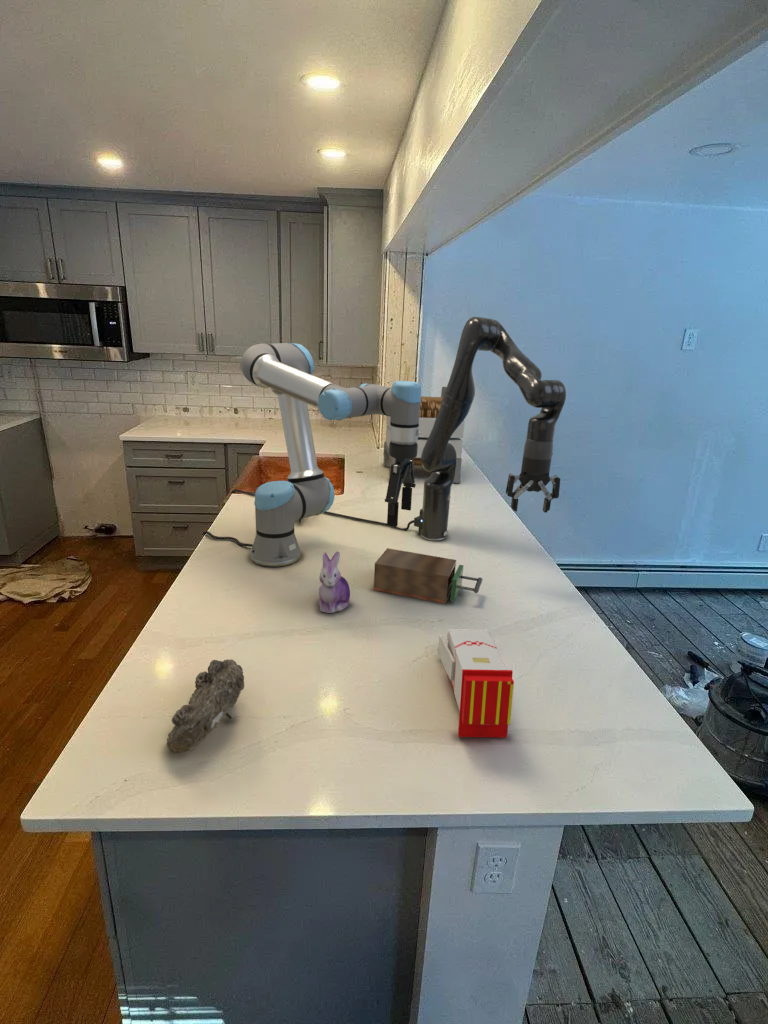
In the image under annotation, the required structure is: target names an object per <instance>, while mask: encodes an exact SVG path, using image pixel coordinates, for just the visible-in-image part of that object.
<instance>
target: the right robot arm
mask: <svg viewBox="0 0 768 1024" xmlns="http://www.w3.org/2000/svg"><path fill="white" fill-rule="evenodd" d="M461 331H462V332H461V333H460V334H461V335H460V339H459V343H458V347H457V351H456V356H455V359H454V365H453V367H452V370H451V373H450V375H449V379H448V383H447V386H446V387H447V388H446V390H445V393H444V396H443V399H442V402H441V406H440V409H439V412H438V415H437V417H436V420H435V423H434V426H433V428H432V431H431V433H430V435H429V437H428V439H427V442H426V444H425V446H424V448H423V451H422V455H421V463H422V466H421V467H423V470H424V471H426V472H428V473H431V474H430V475H429V476H428V477H427V478H426V479H425V480H424V482H423V493H422V496H423V497H422V506H421V508H420V509H419V515H418V516H416V517H414V518H413V519H412V520H410V521H408V523H407V525H406V527H404V528H401V527H398V526H390V525H387V522H382V521H377V520H371V519H367V518H361V517H355V516H350V515H345V514H340V513H336V512H332V511H328V510H327V511H326V512H323V513H322V514H327V515H331V516H336V517H340V518H345V519H350V520H353V521H354V520H355V521H359V522H366V523H371V524H376V525H380V526H386V527H391V528H393V529H395V530H398V531H403V532H404V531H408V530H409V529H410V526H411V524H413V526H414V527H416V528H418V530H417V535H418V536H420V538H421V539H424V540H426V541H432V542H440V541H444V540H446V539H447V538H448V534H449V529H448V525H449V517H450V516H449V514H450V504H451V494H452V493H451V491H452V486H453V484H454V483H453V482H454V477H455V470H456V462H457V455H456V450H455V448H454V447H453V445H452V444H450V443H448V441H449V439H450V437H451V436H452V434H453V433H454V432H455V430H456V429H457V428H458V427H459V425H460V424H461V423H462V422H463V420H465V419H466V418H467V416H468V414H469V413H470V410H471V408H472V404H473V402H474V399H475V396H476V386H475V381H474V376H473V365H474V362H475V358H476V355H477V352H478V351H481V352H491V353H492V354H495V355H496V356H497V357H499V358H500V359H501V362H502V367H503V371H504V372H505V374H506V375H507V377H508V378H509V379H510V380H511V381H512V382H513V383H514V384H515V385H517V387H518V388H519V390H520V393H521V395H522V398H523V399H524V400H525V402H526V403H527V404H528V405H530V407H533V408H535V409H536V408H537V409H540V410H539V413H537V414H536V415H533V416H531V417H530V418H529V419H528V422H527V423H528V424H527V431H526V437H525V443H524V446H523V452H522V460H521V461H522V462H521V469H520V473H519V475H517V474H514V473H509V474H508V478H507V482H506V488H505V494H506V495H507V497H509V498H511V501H510V502H511V503H510V508H511V510H512V511H513V512H515V513H516V512H518V505H519V497H521V496H522V495H523V494H524V493H525V492H526V491H527V492H536V493H539V492H541V493H543V495H544V496H545V497H544V499H543V505H542V512H543V513H548V511H550V510H551V504H552V501H553V499H558V498H559V497H560V489H561V488H560V487H561V478H560V477H559V476H558V475H556V474H555V475H554V476H550V471H551V464H552V458H553V451H554V437H555V429H556V424H557V422H558V421H559V418H560V416H561V413H562V410H563V408H564V406H565V403H566V401H567V400H566V399H567V389H566V386H565V384H564V382H562V381H561V380H558V379H542V370H541V369H540V368H539V367H538V366H537V365H536V363H534V362H533V361H532V360H531V359H530V358H529V357H528V356H527V355H526V354H524V353H523V352H522V350H521V349H520V348H519V347H518V346H517V344H516V342H514V340H513V339H512V338H511V336H510V335H509V333H508V331H507V330H506V329H505V327H504V326H503V325H502V323H500V321H499V320H496V319H493V318H488V317H482V316H472V317H470V318H468V319H467V321H466V322H465V324H464V325H463V328H462V330H461ZM517 481H519V482H520V484H519V485H518V486H516V489H514V485H515V484H516V483H517ZM549 483H551V485H552V489H551V492H549V490H548V488H547V487H546V486H547V484H548V485H549ZM513 490H514V491H513ZM236 492H237V493H240V494H244V495H250V496H254V497H255V493H253V492H248V491H244V490H241V489H233V490H232V491H231V492H230V493H231V494H233V493H236Z"/></svg>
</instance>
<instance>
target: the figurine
mask: <svg viewBox="0 0 768 1024" xmlns="http://www.w3.org/2000/svg"><path fill="white" fill-rule="evenodd" d="M321 557H322V558H321V559H322V568H321V570H320V572H319V581H320V583H321V585H320V586H319V588H318V597H319V601H318V605H319V610H320V612H322V613H326V614H333V613H336V612H340V611H343V610H345V609H346V608H347V607H348V606H349V605H350V599H351V589H350V585H349V582H348V581H347V579H346V578H345V577H344V576H342V575H341V574H342V573H341V572H340V571H341V570H340V569H339V567H338V565H339V562H340V557H341V553H340V551H336V552H335V553H334V554H333V556H332V557H331V558H330V557H329V555H328V553H327V552H323V553H322V556H321Z"/></svg>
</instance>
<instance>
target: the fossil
mask: <svg viewBox="0 0 768 1024" xmlns="http://www.w3.org/2000/svg"><path fill="white" fill-rule="evenodd" d="M243 670H244V669H243V667H242V665H240V664H237V662H236V661H235V660H234V659H232V658H231V659H227V658H226V659H224V660H223V661H222V660H217V659H212V660H211V661H210V663H209V665H208V666H207V671H201V672H199V673H198V674H197V675H196V676H195V680H194V684H195V685H194V687H195V689H194V690H193V693H192V694H191V697H190V698H189V700H188V704H184V705H182V706H181V707H180V709H177V710H176V711H175V713H174V715H173V716H172V718H171V723H172V724H173V727H172V730H171V731H170V732H168V734H167V738H166V741H167V742H166V745H167V749H168V750H169V751H173V752H174V753H176V754H178V753H182V752H188V751H189V752H192V751H193V750H195V748H196V747H197V746H199V744H200V743H201V742H203V741H204V740H205V739H206V738H207V737H208V736H209V735H210V734H211V733H212V732H214V730H215V729H217V727H218V726H219V724H220V722H221V721H222V720H223V719H224V718H225V716H226V717H227V719H229V720H233V717H232V715H230V714H229V710H230V709H231V708H234V706H235V704H236V703H237V702H238V699H239V697H240V695H241V693H242V691H243V690H245V689H244V688H245V675H244V671H243Z"/></svg>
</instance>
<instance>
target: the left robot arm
mask: <svg viewBox="0 0 768 1024" xmlns="http://www.w3.org/2000/svg"><path fill="white" fill-rule="evenodd" d="M240 368H241V372H242V375H243V376H244V378H245V379H246V380H247V381H248V382H249V383H250V384H252V385H254V386H257V387H258V388H262V389H271V392H273V393H274V394H275V395H276V396H277V399H278V405H279V412H280V417H281V422H282V429H283V434H284V439H285V446H286V451H287V456H288V463H289V467H290V473H289V474H288V476H287V480H277V481H276V480H272V481H267V482H265V483H262V484H261V485H259V486H258V487H257V488H256V490H255V492H254V494H255V496H254V502H253V503H254V504H253V505H254V507H255V508H254V513H255V537H254V540H253V543H246V542H245V543H244V542H240V540H239V539H238V538H236V537H233V536H217V535H214V534H213V533H211V532H210V531H208V530H205V531H204V532H202V535H203V536H205V535H208V536H209V537H210V538H212V539H213V540H221V541H222V540H223V541H225V540H230V541H234V542H235V543H236V544H237V545H239V546H241V547H249V548H251V549H250V559H251V561H252V562H253V563H254V564H256V565H259V566H261V567H268V568H272V567H273V568H278V567H285V566H289V565H293V564H294V563H296V562H298V561H299V560H300V559H301V556H302V555H301V551H302V550H301V547H300V546H299V543H298V539H297V536H296V534H295V522H299V520H301V521H302V520H305V519H308V518H311V517H315V516H316V517H317V516H319V515H321V514H324V513H323V512H326V511H327V512H328V511H329V510H330V509H331V507H332V506H333V504H334V501H335V495H336V494H335V493H336V492H335V488H334V484H333V483H332V482H331V480H330V479H329V478H328V477H327V476H325V473H324V470H322V469H320V467H318V460H317V455H316V448H315V443H314V438H313V437H314V436H313V430H312V424H311V417H310V412H309V406H311V407H313V408H316V409H318V412H319V413H320V414H321V416H322V417H323V418H324V419H325V420H328V421H343V420H346V419H352V418H358V417H359V418H360V417H366V416H372V415H381V416H385V417H386V416H390V436H389V439H390V440H391V442H390V443H389V455H390V456H391V457H394V458H395V463H394V464H391V471H390V470H389V475H390V478H389V477H388V478H389V479H388V483H387V484H388V485H387V489H386V495H385V498H384V503H387V515H386V516H387V517H386V523H387V525H390V526H396V527H398V525H399V524H398V523H399V504H400V502H399V497H400V493H401V504H400V509H401V510H402V511H403V510H404V511H411V510H412V500H413V499H412V498H413V488H414V489H415V488H416V481H415V480H416V479H415V468H414V467H415V466H413V458H415V457H416V456H417V448H418V444H417V443H416V442H417V441H418V434H420V433H421V432H420V431H419V430H418V429H419V414H420V404H421V397H422V386H421V384H420V383H419V382H416V381H412V380H396V381H395V380H394V382H392V385H391V386H385V385H381V384H380V385H379V384H376V383H362V384H360V385H358V386H354V387H353V386H352V387H343V386H342V385H341V386H340V385H338V384H335V383H333V382H331V381H329V380H326V379H323V378H322V377H321V378H320V377H318V376H316V375H313V373H314V370H315V364H314V359H313V357H312V355H311V353H310V351H309V350H308V349H307V348H306V347H305V346H304V345H303V344H300V343H294V342H293V343H292V342H277V343H275V342H274V343H257V344H254V345H251V346H250V347H248V348H247V349H246V350H245V351H244V353H243V354H242V357H241V360H240ZM308 405H309V406H308ZM395 473H396V474H395ZM402 484H403V486H402ZM390 526H389V527H390Z"/></svg>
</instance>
